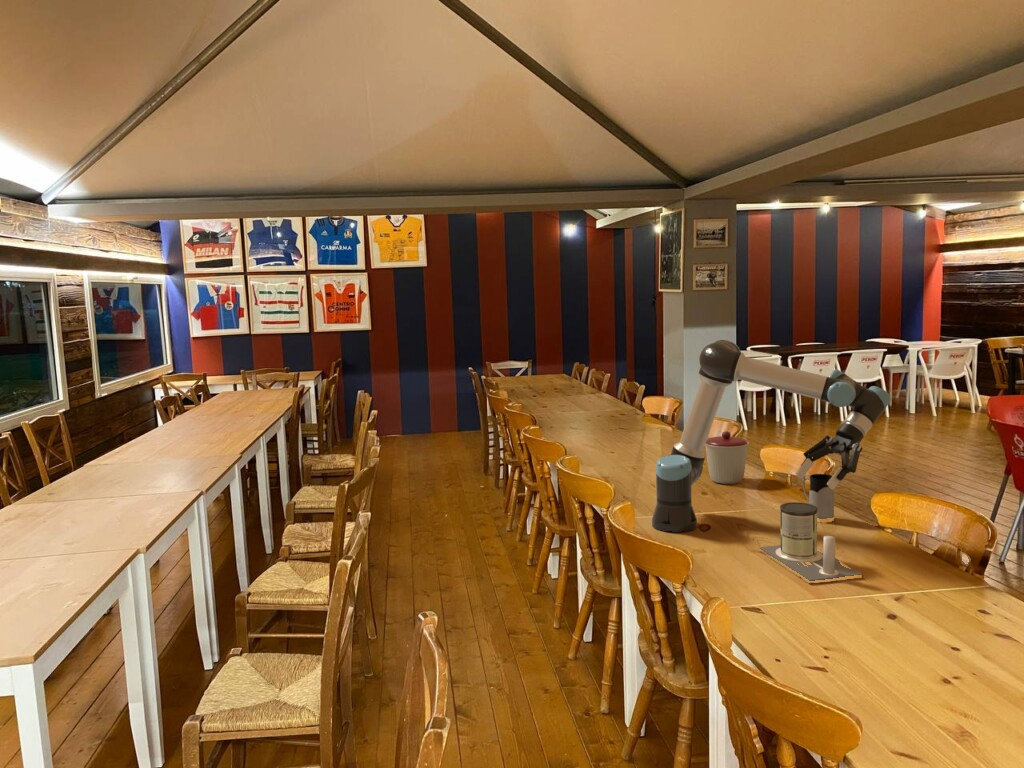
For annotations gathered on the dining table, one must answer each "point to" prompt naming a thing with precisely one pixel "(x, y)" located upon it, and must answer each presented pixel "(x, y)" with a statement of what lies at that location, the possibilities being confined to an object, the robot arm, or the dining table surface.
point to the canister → (726, 458)
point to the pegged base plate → (815, 562)
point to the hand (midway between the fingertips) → (813, 481)
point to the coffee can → (798, 530)
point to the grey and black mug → (820, 495)
